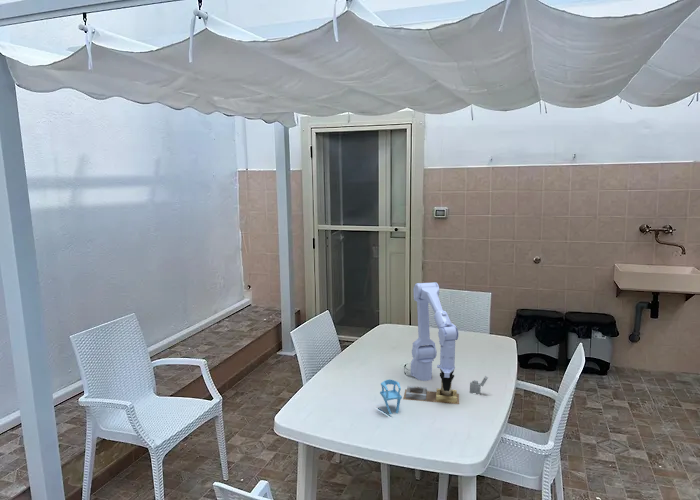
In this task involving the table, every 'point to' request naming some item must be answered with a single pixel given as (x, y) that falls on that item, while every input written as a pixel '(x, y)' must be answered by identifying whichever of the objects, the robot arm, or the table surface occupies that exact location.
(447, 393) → the beige cylinder
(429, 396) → the dock
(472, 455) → the table surface
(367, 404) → the table surface
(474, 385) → the lighter
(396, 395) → the chair
